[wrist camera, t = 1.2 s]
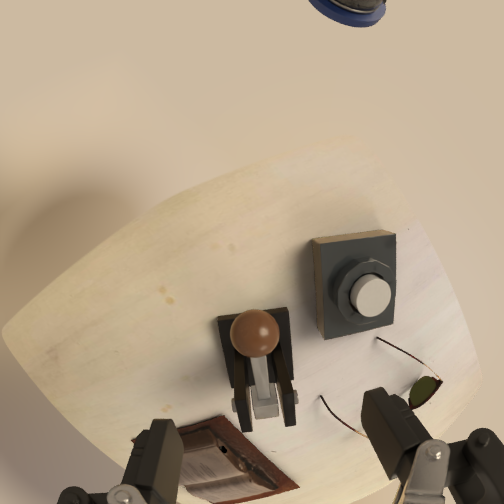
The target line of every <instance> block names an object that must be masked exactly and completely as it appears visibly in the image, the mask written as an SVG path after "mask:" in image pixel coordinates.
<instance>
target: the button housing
mask: <svg viewBox="0 0 504 504" xmlns="http://www.w3.org/2000/svg"><path fill="white" fill-rule="evenodd" d="M312 248H313V261H314V275H315V291H316V310H317V328H318V330H319V332H320V333H321V335H322V337H323V338H324V340H327V339H332V338H337V337H342V336H346V335H351V334H355V333H359V332H363V331H368V330H372V329H376V328H380V327H383V326H387V325H391V324H393V321H394V307H395V296H396V233H392V232H389V231H385V230H375V231H367V232H360V233H352V234H344V235H337V236H329V237H321V238H314V239H312ZM369 274H372V275H376V276H378V277H379V278H381V279H382V280H384V281H385V282H387V284H388V285H389V287H390V290H391V298H390V301H389V304H388V306H387V307H386V309H385V310H384V311H383V312H381V313H380V314H378V315H376V316H373V317H367V316H364V315H362V314H361V313H360V312H359V311H358V310H357V309H356V308H355V307H354V306H353V305H352V303H351V300H350V292H351V289H352V286H353V285H354V283H355V282H356V281H357V280H358V279H359V278H360V277H362V276H364V275H369Z"/></svg>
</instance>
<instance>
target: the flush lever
mask: <svg viewBox="0 0 504 504" xmlns="http://www.w3.org/2000/svg"><path fill="white" fill-rule="evenodd" d="M279 334H280V332H279V327H278V324H277V322H276V320H275V319H274V318H273V317H272V316H271V315H270V314H268V313H267V312H265V311H262V310H248V311H245V312H243V313H241V314H240V315H239V316H238V317H237V318H236V319H235V320H234V322H233V324H232V326H231V330H230V337H231V341H232V344H233V346H234V347H235V349H236V350H237V351H238V352H239V353H241V354H242V355H244V356H247V357H250V359H251V364H252V370H253V375H254V380H255V385H254V386H250V387H251V396H252V405H253V410H254V414H255V419H256V420H257V419H265V418H272V417H278V416H279V408H278V400H277V394H276V388H275V383H269V377H268V368H267V359H266V355H267V354H269V353H270V352H271V351H273V350H274V348H275V347H276V345H277V343H278V341H279Z"/></svg>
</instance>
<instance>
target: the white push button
mask: <svg viewBox="0 0 504 504" xmlns="http://www.w3.org/2000/svg"><path fill="white" fill-rule="evenodd" d="M390 298H391V290H390V287H389V285H388V284H387V282H385V281H384V280H382V279H381V278H379V277H378V276H376V275H372V274H369V275H364V276H362V277H360V278H359V279H358V280H357V281H356V282H355V283H354V285H353V286H352V289H351V292H350V300H351V303H352V305H353V306H354V307H355V308H356V309H357V310H358V311H359V312H360V313H361V314H362V315H364V316H367V317H373V316H376V315H378V314H380V313H381V312H383V311H384V310H385V309H386V307H387V306H388V304H389V301H390Z"/></svg>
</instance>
